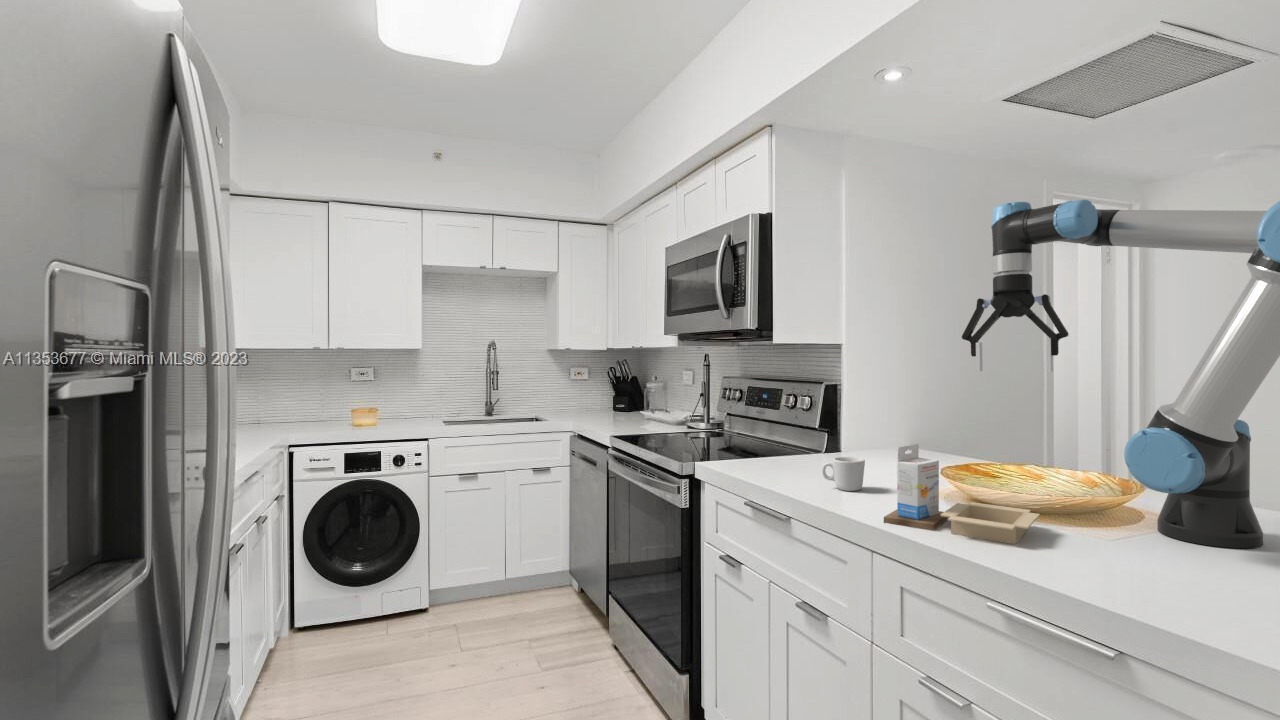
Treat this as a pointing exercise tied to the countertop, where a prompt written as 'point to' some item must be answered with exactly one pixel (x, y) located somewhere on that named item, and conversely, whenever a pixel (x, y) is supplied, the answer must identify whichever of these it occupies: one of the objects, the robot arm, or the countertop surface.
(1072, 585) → the countertop surface
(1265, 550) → the countertop surface
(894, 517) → the walnut board
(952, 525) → the beige tray
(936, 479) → the ink box
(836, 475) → the cup
